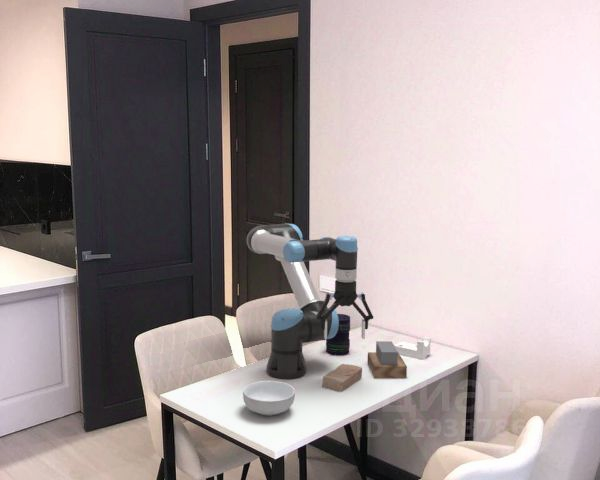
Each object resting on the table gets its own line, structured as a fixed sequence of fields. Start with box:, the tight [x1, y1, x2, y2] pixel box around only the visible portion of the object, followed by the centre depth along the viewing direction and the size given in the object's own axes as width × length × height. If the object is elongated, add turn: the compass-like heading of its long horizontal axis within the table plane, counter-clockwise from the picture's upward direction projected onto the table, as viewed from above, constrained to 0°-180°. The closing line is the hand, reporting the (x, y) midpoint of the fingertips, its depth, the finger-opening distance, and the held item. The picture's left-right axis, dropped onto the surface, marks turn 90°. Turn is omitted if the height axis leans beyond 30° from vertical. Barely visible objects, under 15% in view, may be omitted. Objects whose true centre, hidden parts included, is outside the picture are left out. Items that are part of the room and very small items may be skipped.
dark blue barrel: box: [325, 313, 351, 357], centre depth 270 cm, size 10×10×15 cm
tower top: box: [375, 340, 398, 365], centre depth 250 cm, size 6×13×5 cm, turn 2°
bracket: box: [393, 336, 432, 361], centre depth 270 cm, size 13×7×8 cm, turn 54°
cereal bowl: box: [242, 380, 296, 417], centre depth 212 cm, size 17×17×7 cm
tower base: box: [367, 351, 408, 379], centre depth 251 cm, size 12×16×5 cm
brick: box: [321, 363, 363, 393], centre depth 238 cm, size 16×8×5 cm, turn 149°
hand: (344, 338), depth 236 cm, fingers open, 13 cm apart
